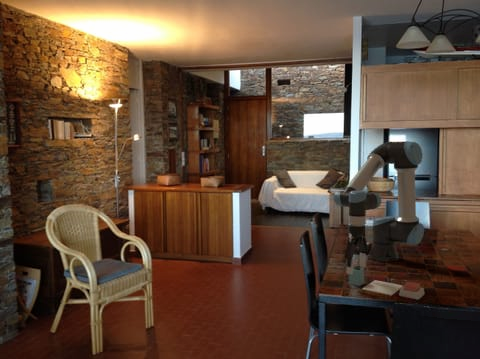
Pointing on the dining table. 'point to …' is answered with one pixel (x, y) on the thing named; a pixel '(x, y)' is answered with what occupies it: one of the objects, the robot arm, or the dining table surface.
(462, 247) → the dining table surface
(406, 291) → the button base
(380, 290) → the note pad
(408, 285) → the button
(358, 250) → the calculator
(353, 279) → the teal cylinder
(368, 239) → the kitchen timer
